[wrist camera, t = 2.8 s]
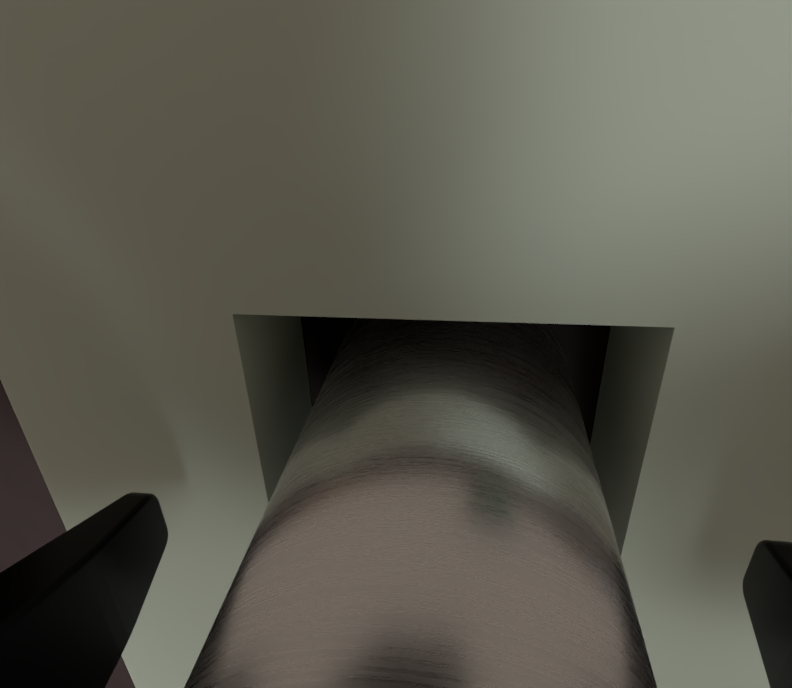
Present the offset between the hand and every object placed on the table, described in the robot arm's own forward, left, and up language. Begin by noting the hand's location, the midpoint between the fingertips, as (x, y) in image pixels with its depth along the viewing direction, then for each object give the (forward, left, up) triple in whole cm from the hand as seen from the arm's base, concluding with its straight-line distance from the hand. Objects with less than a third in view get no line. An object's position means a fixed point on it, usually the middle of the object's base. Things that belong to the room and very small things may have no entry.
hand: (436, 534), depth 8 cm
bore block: (0, 0, -4) cm, 4 cm away
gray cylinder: (0, 0, -4) cm, 4 cm away
